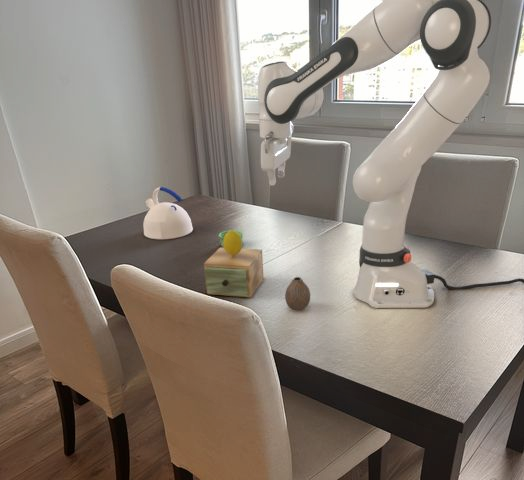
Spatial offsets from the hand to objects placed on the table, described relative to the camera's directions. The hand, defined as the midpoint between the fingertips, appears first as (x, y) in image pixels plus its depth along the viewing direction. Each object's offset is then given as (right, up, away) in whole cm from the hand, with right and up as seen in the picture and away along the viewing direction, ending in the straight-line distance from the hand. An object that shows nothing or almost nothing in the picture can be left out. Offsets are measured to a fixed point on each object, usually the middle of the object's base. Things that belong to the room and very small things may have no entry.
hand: (277, 181), depth 143 cm
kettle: (-43, -1, +59) cm, 74 cm away
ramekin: (-16, -10, +41) cm, 45 cm away
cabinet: (-12, -30, +8) cm, 33 cm away
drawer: (-13, -30, +6) cm, 33 cm away
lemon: (-13, -22, +3) cm, 25 cm away
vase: (+6, -38, -6) cm, 39 cm away
